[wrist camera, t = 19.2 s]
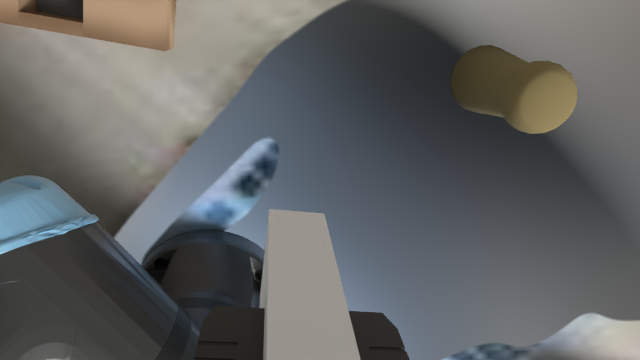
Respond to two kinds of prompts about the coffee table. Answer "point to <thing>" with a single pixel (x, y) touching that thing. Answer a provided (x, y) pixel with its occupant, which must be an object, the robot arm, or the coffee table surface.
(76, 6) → the wooden box
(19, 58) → the coffee table surface
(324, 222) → the robot arm
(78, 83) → the coffee table surface
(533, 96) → the cork
